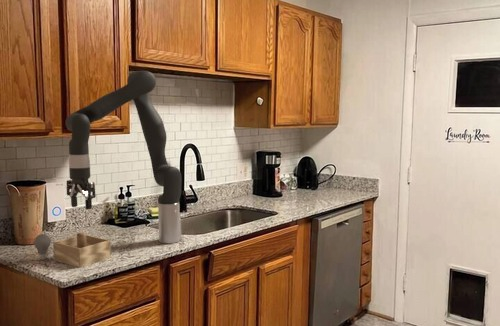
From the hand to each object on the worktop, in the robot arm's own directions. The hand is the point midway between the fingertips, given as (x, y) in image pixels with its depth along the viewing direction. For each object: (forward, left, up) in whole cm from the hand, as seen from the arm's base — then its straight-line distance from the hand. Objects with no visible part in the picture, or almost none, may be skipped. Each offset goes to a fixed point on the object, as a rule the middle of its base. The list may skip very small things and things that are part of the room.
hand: (81, 207), depth 184 cm
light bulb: (+9, -12, -20) cm, 25 cm away
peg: (0, 0, -20) cm, 20 cm away
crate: (0, 0, -20) cm, 20 cm away
